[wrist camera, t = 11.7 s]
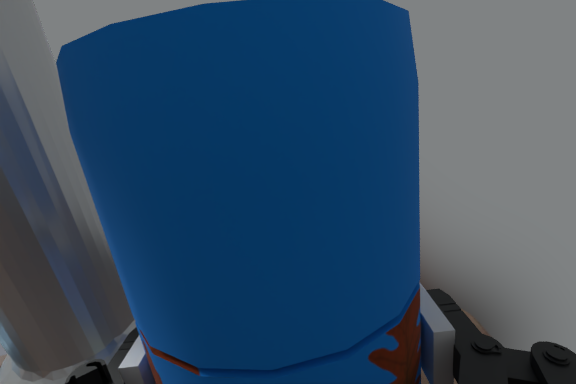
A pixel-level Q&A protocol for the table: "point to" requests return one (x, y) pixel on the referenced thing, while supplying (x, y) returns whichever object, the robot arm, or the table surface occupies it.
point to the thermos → (258, 186)
